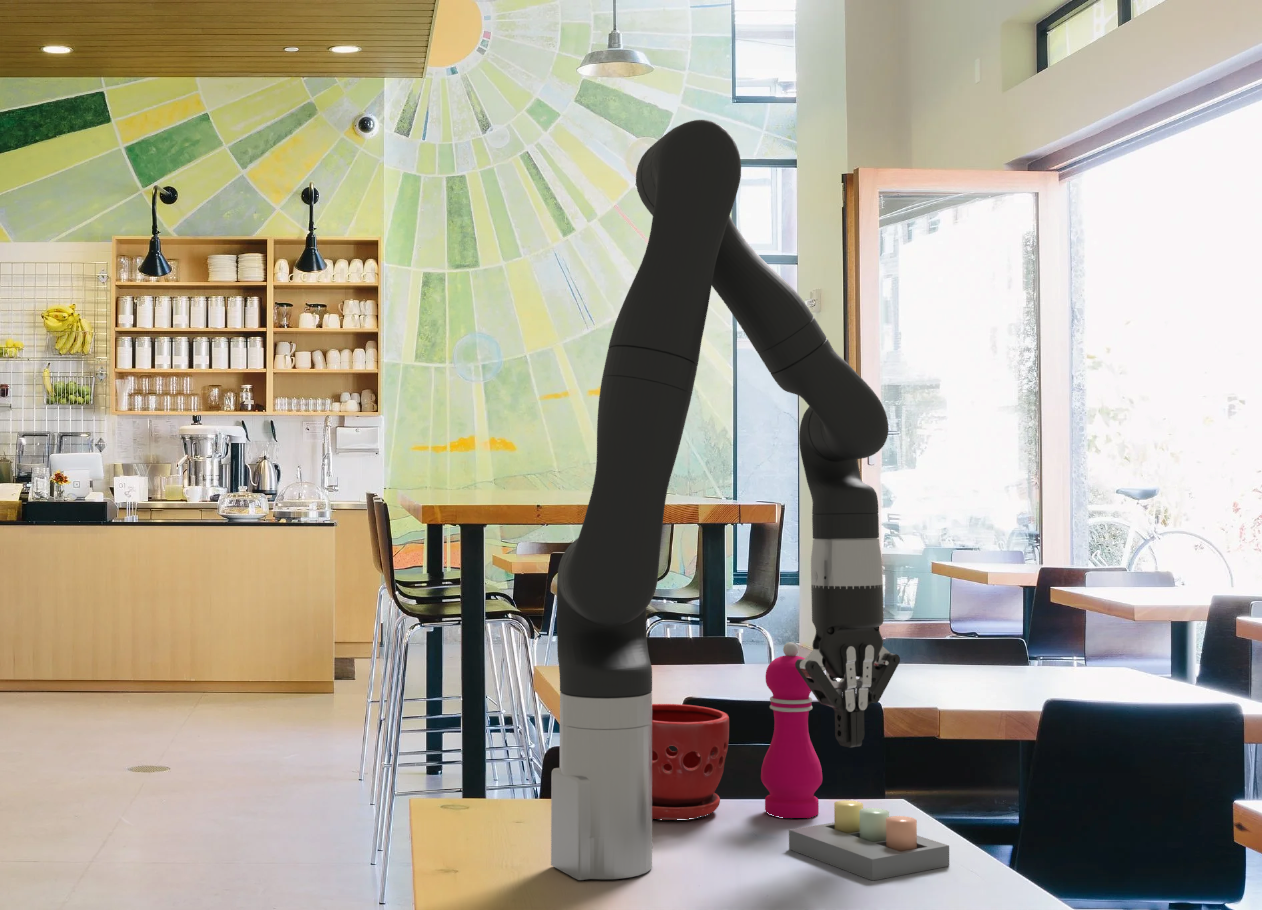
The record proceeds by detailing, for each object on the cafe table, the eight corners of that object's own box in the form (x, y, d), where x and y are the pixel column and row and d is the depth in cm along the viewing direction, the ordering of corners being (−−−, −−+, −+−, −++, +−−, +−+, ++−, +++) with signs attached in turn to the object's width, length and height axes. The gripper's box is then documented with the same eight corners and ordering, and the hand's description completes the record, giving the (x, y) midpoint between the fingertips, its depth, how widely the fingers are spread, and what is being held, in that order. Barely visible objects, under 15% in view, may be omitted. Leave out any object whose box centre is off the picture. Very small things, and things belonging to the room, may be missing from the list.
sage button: (873, 846, 123) (872, 816, 123) (853, 839, 125) (853, 809, 125) (895, 842, 124) (895, 812, 124) (875, 835, 127) (875, 806, 127)
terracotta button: (900, 855, 119) (900, 824, 119) (879, 848, 122) (879, 818, 122) (923, 851, 121) (923, 820, 121) (902, 844, 123) (902, 814, 123)
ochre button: (847, 837, 126) (847, 808, 126) (828, 830, 129) (828, 802, 129) (869, 833, 128) (869, 804, 128) (850, 827, 130) (850, 799, 130)
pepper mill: (821, 806, 146) (819, 639, 147) (824, 821, 139) (823, 645, 140) (760, 805, 147) (759, 638, 148) (761, 819, 140) (760, 644, 141)
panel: (872, 880, 116) (872, 859, 116) (789, 848, 127) (788, 829, 127) (949, 865, 121) (949, 845, 121) (862, 836, 132) (862, 817, 132)
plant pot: (615, 826, 137) (615, 719, 137) (620, 800, 150) (621, 701, 150) (731, 827, 136) (731, 719, 137) (727, 801, 149) (726, 702, 150)
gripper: (819, 585, 123) (823, 758, 122) (917, 580, 130) (922, 744, 129) (775, 582, 129) (778, 746, 128) (870, 578, 136) (874, 734, 135)
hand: (850, 745), depth 129 cm, fingers closed
